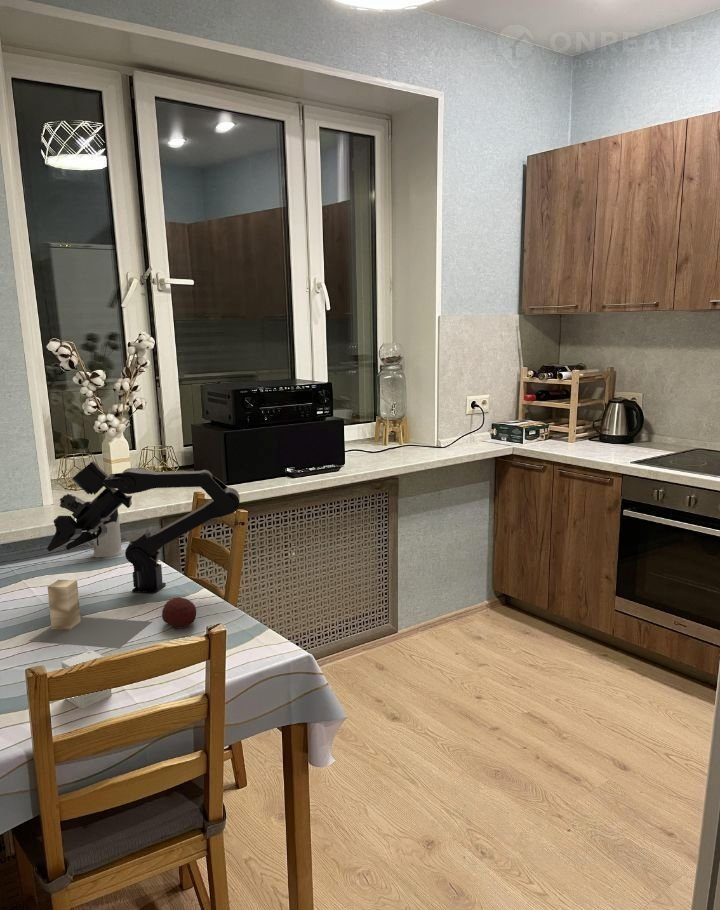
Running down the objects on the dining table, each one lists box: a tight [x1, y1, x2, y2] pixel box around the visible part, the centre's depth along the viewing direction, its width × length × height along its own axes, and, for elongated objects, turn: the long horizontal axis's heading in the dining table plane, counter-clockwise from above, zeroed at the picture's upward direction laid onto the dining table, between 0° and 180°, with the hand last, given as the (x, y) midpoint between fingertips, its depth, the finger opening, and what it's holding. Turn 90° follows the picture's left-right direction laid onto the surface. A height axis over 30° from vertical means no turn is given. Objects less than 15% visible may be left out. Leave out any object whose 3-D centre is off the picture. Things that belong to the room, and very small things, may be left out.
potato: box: [161, 596, 197, 629], centre depth 156 cm, size 7×10×6 cm
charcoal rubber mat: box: [29, 616, 152, 649], centre depth 153 cm, size 22×14×1 cm, turn 79°
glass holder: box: [72, 508, 124, 558], centre depth 210 cm, size 9×14×15 cm, turn 131°
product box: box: [61, 650, 113, 709], centre depth 125 cm, size 6×6×7 cm
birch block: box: [47, 579, 81, 630], centre depth 156 cm, size 4×4×10 cm
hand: (57, 549), depth 175 cm, fingers open, 9 cm apart
